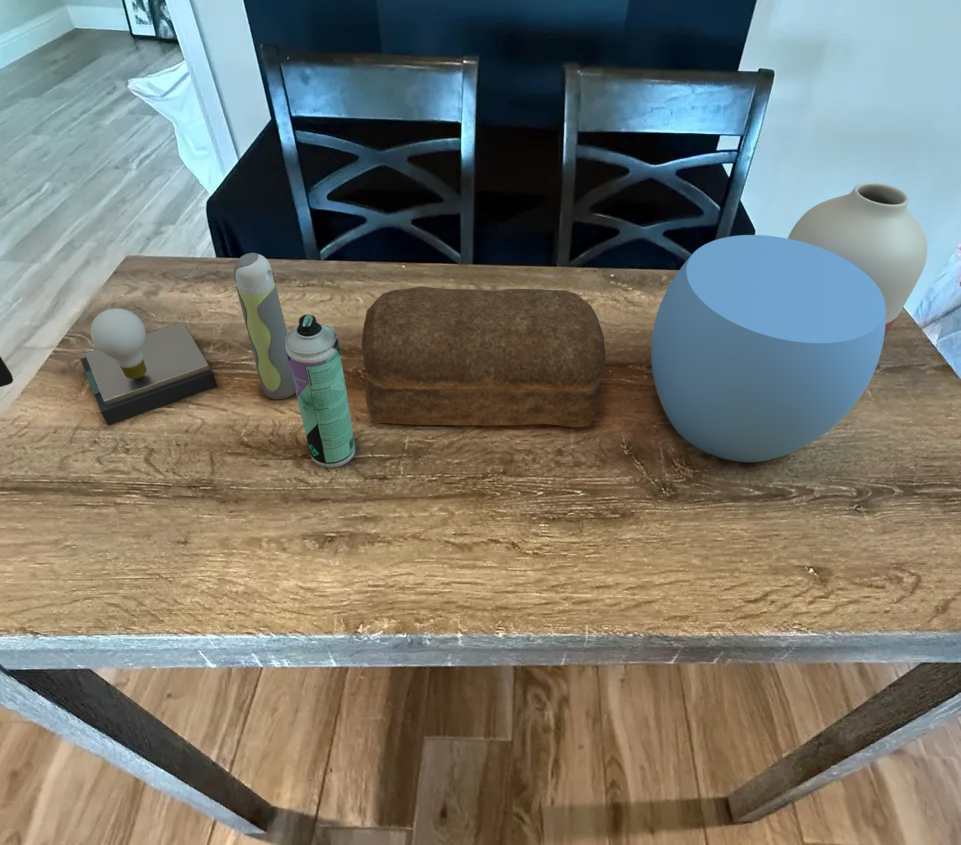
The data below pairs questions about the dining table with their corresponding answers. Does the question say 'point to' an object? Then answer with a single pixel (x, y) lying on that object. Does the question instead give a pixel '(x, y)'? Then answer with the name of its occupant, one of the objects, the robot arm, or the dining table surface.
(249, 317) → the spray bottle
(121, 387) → the scale
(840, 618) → the dining table surface
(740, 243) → the blue rounded pouf
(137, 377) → the light bulb
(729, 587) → the dining table surface
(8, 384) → the robot arm
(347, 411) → the spray can
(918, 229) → the vase
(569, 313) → the bread
